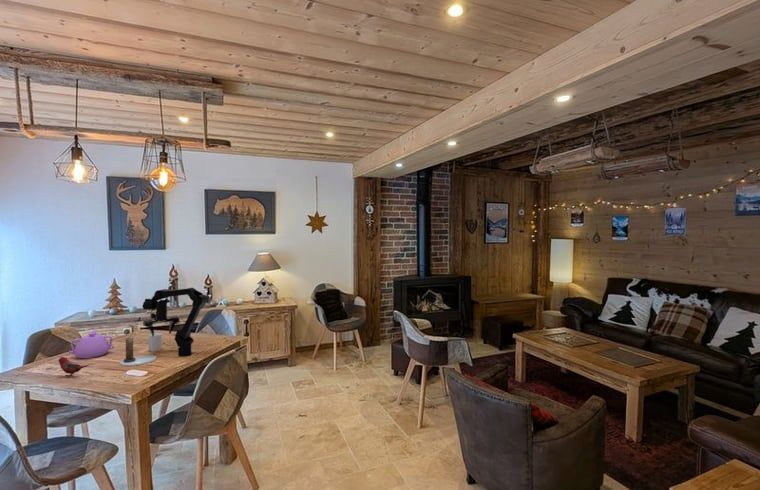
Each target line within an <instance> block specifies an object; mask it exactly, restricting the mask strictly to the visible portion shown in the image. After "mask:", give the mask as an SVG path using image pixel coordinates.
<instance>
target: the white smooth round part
mask: <svg viewBox="0 0 760 490" xmlns="http://www.w3.org/2000/svg"><path fill="white" fill-rule="evenodd" d="M133 358H135V361H134V362H129V363H124V359H126V357H125V358H123V359H121V360H120V361H119V365H120V366H122V367H136V366H142V365H147V364H150V363H152V362H155V361H156V360H157V356H156V355H154V354H139V355H133Z"/></svg>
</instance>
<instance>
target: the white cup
mask: <svg viewBox="0 0 760 490" xmlns="http://www.w3.org/2000/svg"><path fill="white" fill-rule="evenodd" d="M162 342H163V333H162V332H161V333H160V332H154V336H152V334H151V333H150V334H148V335H147V345H148V352H158V351H161V350H162Z"/></svg>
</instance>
